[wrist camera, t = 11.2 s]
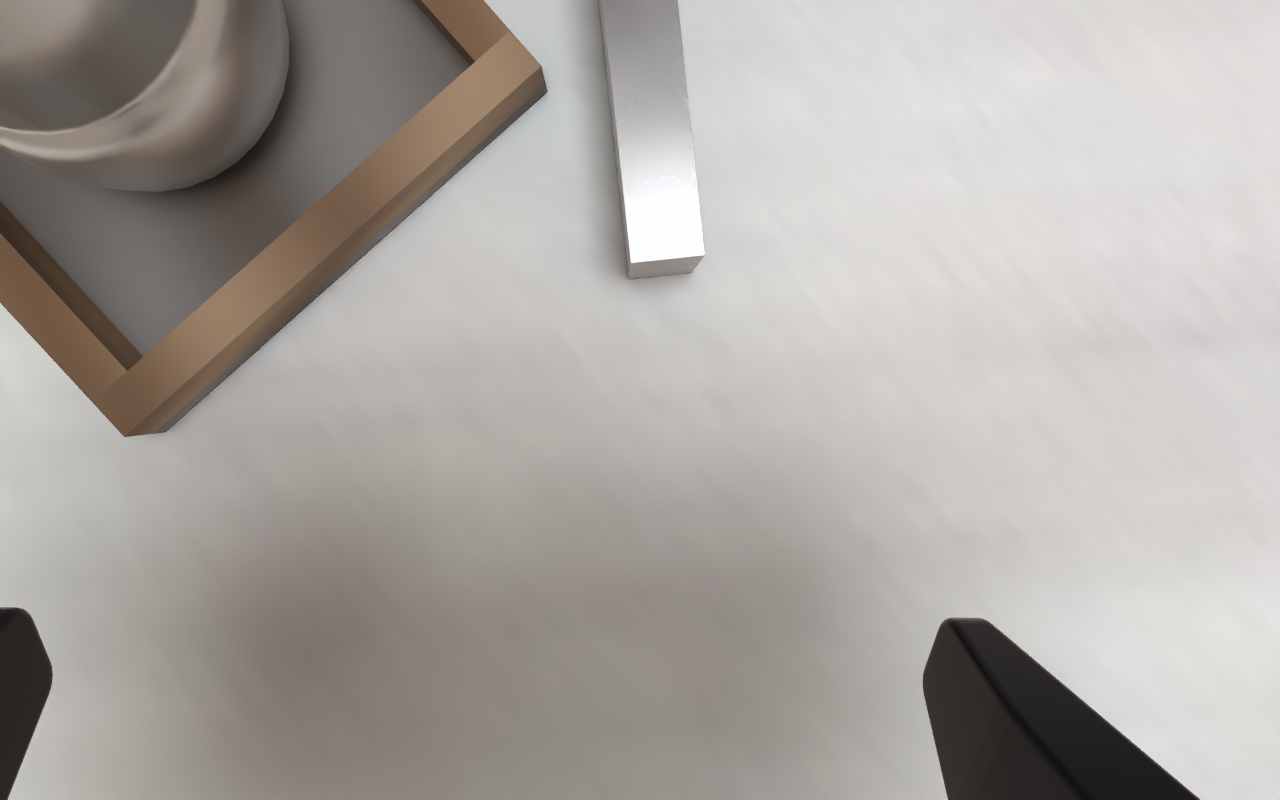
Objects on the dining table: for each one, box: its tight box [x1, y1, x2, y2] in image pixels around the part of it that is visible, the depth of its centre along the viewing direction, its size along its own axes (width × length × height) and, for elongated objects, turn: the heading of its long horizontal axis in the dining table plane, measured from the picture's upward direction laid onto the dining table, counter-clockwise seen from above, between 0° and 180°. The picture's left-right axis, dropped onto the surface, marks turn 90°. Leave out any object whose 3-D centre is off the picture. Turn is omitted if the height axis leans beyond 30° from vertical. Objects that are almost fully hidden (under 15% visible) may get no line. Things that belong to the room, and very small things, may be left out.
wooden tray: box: [0, 0, 547, 437], centre depth 19 cm, size 12×12×2 cm
